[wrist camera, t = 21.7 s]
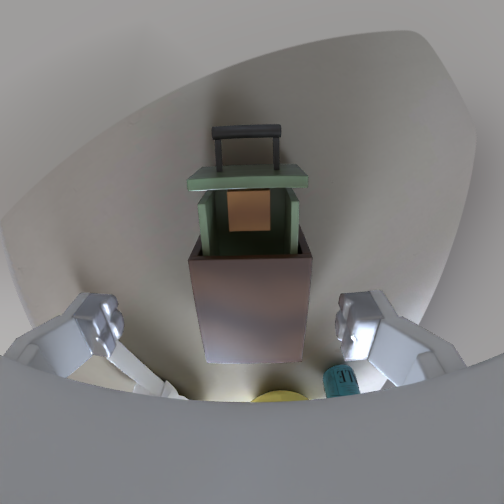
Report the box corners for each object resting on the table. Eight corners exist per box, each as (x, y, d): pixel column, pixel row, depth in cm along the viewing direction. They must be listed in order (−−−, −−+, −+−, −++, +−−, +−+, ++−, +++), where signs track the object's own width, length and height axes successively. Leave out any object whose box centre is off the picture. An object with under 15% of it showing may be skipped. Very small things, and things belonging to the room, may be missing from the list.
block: (230, 182, 32) (226, 191, 28) (268, 181, 32) (270, 190, 28) (232, 218, 34) (229, 231, 30) (268, 217, 34) (270, 230, 30)
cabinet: (203, 226, 37) (187, 260, 28) (299, 223, 37) (312, 257, 28) (215, 318, 44) (206, 363, 35) (294, 316, 44) (301, 362, 35)
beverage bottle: (320, 381, 51) (335, 466, 33) (320, 361, 48) (338, 454, 30) (351, 374, 51) (373, 457, 33) (352, 354, 48) (380, 443, 30)
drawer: (199, 128, 30) (182, 129, 23) (296, 124, 30) (308, 124, 23) (211, 271, 39) (202, 304, 32) (294, 269, 39) (302, 303, 32)
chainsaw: (99, 306, 44) (68, 353, 33) (215, 408, 56) (210, 453, 45) (65, 332, 48) (39, 371, 36) (171, 419, 60) (163, 458, 49)
